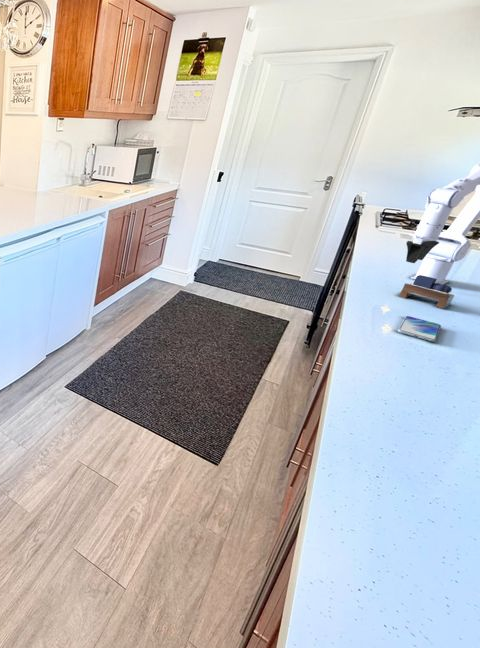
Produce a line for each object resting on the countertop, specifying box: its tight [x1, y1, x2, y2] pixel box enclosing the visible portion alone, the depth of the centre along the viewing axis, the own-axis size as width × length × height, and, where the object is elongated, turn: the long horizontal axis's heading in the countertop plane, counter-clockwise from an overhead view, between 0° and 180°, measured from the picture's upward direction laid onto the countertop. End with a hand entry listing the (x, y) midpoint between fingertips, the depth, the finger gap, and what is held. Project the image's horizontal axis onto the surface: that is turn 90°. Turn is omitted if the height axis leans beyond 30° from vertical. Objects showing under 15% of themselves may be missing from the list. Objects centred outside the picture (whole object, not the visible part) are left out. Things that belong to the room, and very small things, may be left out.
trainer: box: [411, 275, 453, 294], centre depth 132 cm, size 8×4×4 cm, turn 30°
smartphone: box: [397, 315, 442, 343], centre depth 113 cm, size 7×1×15 cm
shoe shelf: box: [398, 283, 456, 310], centre depth 133 cm, size 7×10×5 cm
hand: (414, 260), depth 143 cm, fingers open, 7 cm apart
